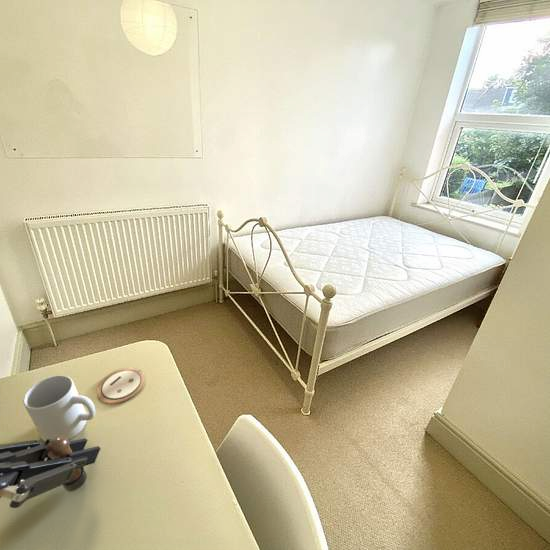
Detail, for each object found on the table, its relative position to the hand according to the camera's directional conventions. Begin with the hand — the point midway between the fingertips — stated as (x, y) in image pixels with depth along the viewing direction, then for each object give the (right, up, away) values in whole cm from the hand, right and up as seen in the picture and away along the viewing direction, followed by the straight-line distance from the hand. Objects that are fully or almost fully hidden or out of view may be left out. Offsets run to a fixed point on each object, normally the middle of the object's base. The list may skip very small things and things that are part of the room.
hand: (89, 450), depth 58 cm
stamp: (-2, -5, -1) cm, 5 cm away
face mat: (-3, +6, +19) cm, 20 cm away
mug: (-9, 0, +9) cm, 13 cm away
